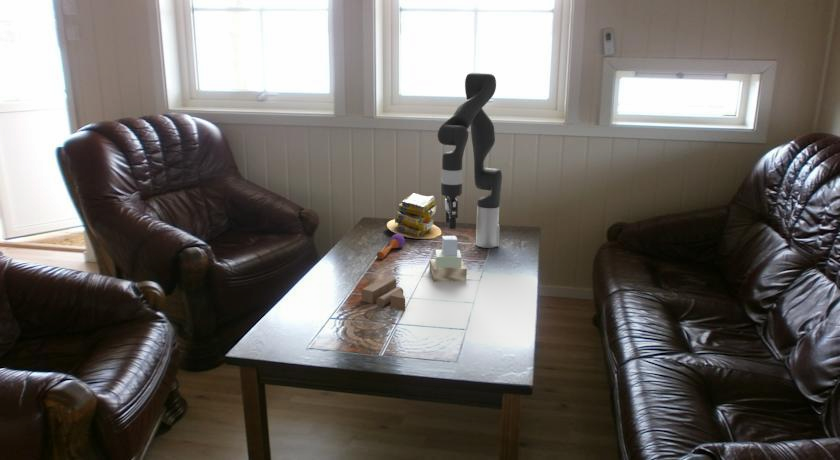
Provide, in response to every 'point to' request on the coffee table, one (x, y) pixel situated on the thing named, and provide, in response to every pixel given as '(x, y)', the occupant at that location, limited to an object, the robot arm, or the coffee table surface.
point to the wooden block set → (385, 293)
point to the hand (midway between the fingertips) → (450, 225)
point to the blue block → (449, 245)
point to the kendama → (392, 245)
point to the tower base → (447, 272)
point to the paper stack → (415, 218)
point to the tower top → (448, 260)
